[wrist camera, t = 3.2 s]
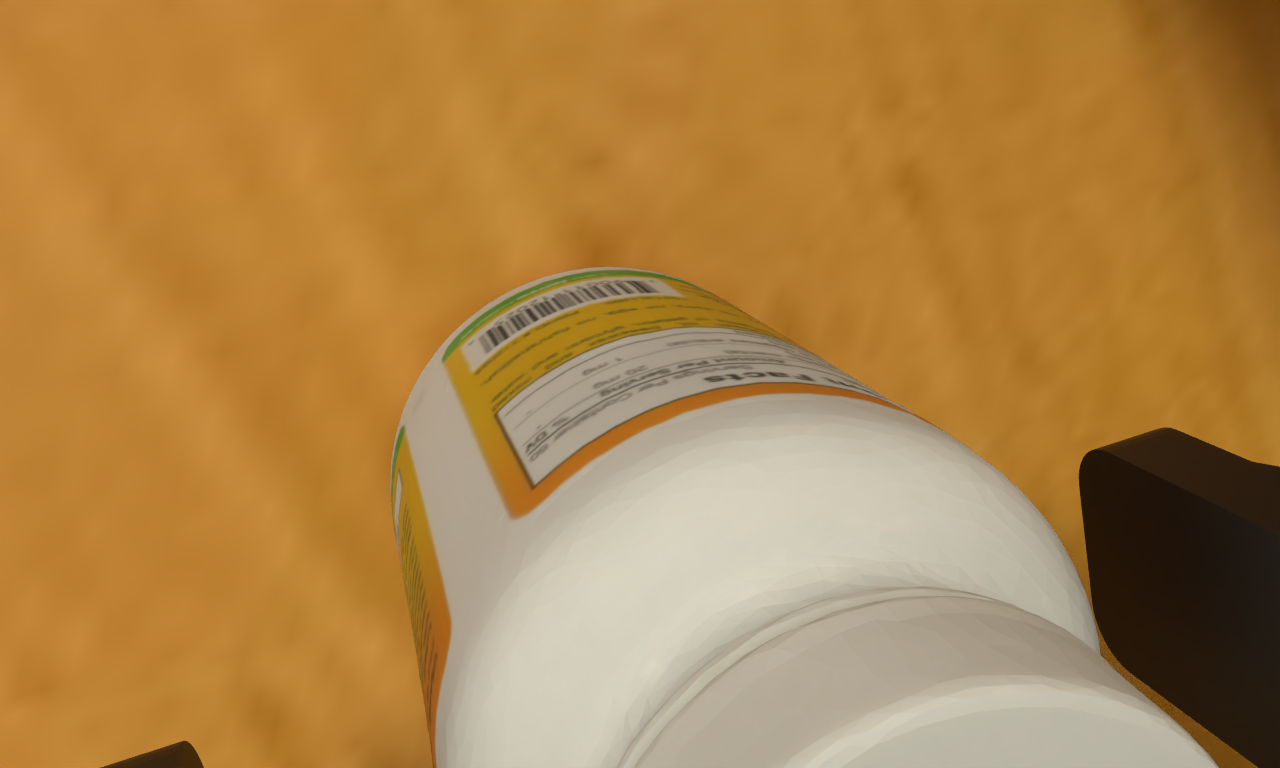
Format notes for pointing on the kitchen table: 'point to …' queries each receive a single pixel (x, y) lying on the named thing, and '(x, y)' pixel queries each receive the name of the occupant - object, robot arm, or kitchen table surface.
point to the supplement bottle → (727, 558)
